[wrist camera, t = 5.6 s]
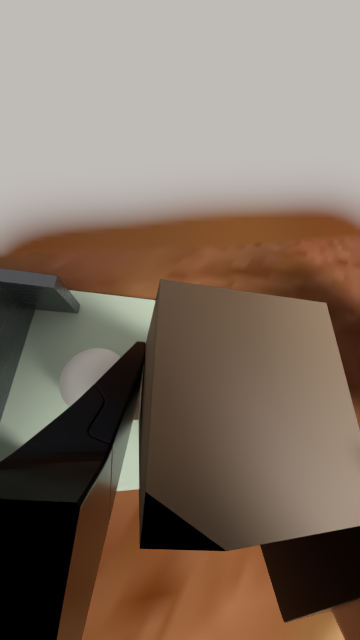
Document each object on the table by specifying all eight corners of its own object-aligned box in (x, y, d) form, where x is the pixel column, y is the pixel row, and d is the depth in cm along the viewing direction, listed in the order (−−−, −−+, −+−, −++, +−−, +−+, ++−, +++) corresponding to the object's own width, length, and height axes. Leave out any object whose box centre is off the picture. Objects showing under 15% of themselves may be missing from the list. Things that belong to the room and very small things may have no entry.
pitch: (253, 314, 19) (258, 312, 18) (271, 470, 15) (278, 475, 14) (35, 290, 15) (29, 285, 14) (-33, 498, 11) (-46, 507, 10)
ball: (149, 377, 12) (96, 376, 9) (115, 422, 12) (53, 436, 9) (123, 342, 14) (74, 330, 11) (95, 380, 14) (39, 379, 11)
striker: (188, 353, 15) (339, 284, 4) (188, 410, 14) (421, 562, 2) (136, 350, 14) (132, 249, 3) (130, 410, 13) (76, 656, 2)
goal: (80, 304, 15) (57, 275, 10) (42, 474, 11) (-17, 534, 7) (26, 299, 14) (-22, 265, 10) (-35, 480, 10) (-154, 552, 6)
